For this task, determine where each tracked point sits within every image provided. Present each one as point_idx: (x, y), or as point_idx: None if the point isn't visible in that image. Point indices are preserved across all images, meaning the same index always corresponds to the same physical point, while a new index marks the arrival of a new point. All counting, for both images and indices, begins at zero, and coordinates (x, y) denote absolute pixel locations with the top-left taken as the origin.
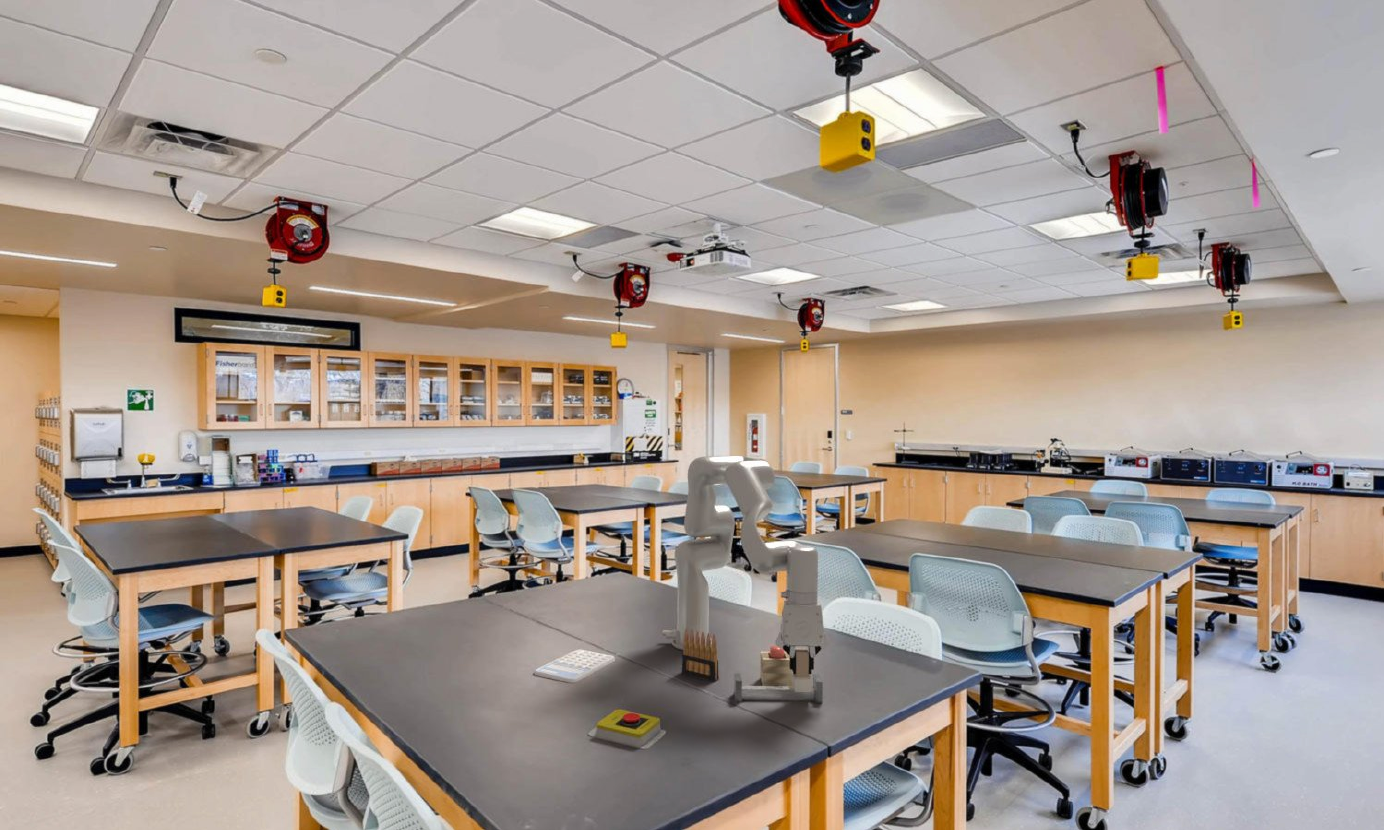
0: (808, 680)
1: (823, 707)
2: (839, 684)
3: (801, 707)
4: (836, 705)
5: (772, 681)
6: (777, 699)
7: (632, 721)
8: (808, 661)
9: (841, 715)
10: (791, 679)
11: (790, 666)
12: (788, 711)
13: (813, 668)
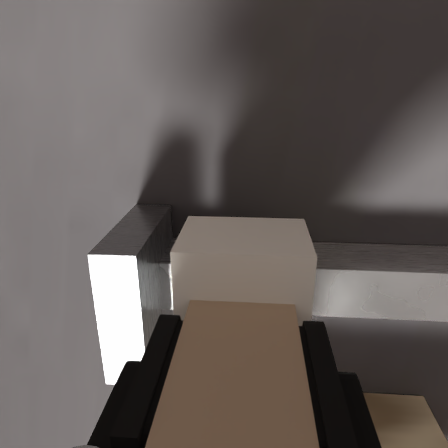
0: (199, 249)
1: (137, 139)
2: (38, 406)
3: (268, 136)
4: (62, 168)
5: (379, 416)
6: (388, 245)
7: None
8: (161, 405)
9: (39, 17)
10: None
11: (359, 388)
12: (366, 71)
13: (128, 363)
